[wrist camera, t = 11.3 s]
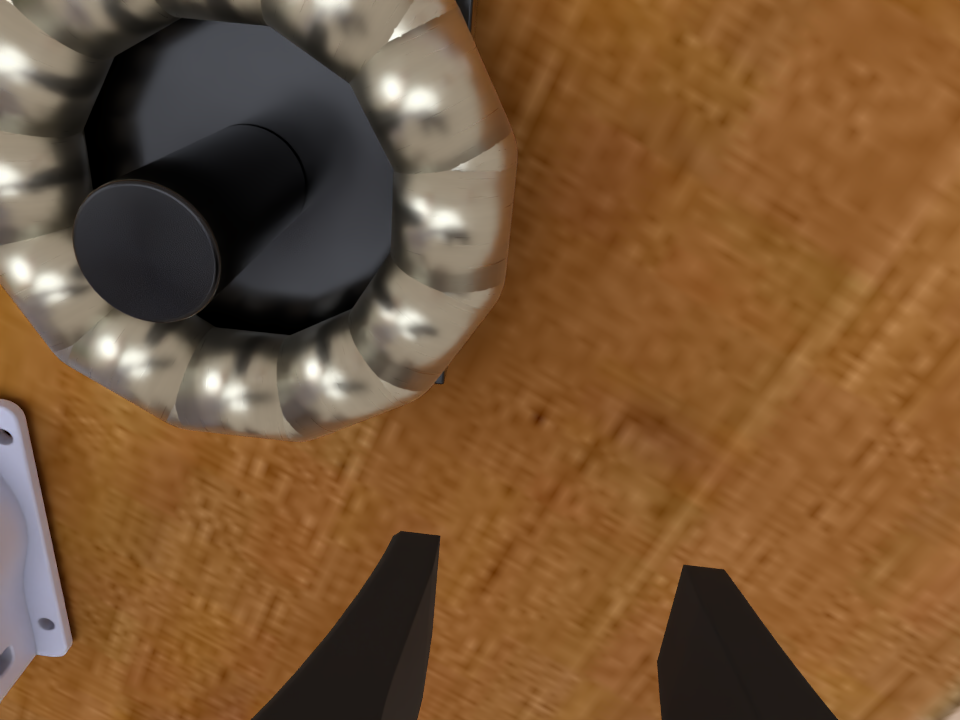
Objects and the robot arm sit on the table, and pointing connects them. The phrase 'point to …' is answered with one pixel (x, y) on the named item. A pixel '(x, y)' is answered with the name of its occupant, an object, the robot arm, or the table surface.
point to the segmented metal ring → (248, 354)
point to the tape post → (232, 182)
